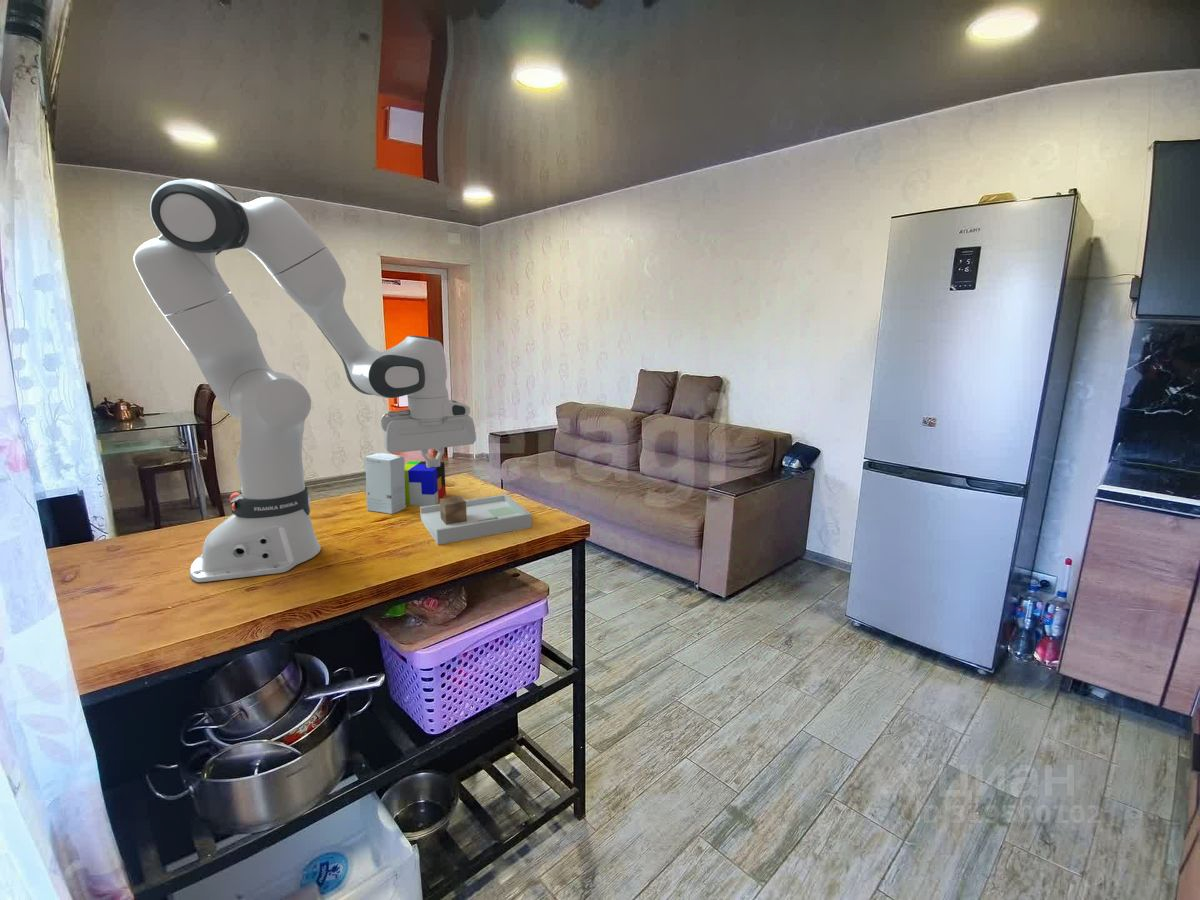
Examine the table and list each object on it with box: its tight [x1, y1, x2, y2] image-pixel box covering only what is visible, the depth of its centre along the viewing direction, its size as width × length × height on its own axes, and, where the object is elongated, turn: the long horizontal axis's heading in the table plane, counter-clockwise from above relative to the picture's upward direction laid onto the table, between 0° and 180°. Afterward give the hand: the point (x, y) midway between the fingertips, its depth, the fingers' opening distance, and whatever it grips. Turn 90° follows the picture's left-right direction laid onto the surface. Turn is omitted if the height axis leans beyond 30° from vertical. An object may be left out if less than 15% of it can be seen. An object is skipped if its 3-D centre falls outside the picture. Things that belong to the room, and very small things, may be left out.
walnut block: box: [439, 495, 467, 525], centre depth 125 cm, size 5×5×5 cm
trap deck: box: [419, 493, 533, 545], centre depth 129 cm, size 23×18×4 cm
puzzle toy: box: [404, 460, 447, 507], centre depth 145 cm, size 10×10×10 cm
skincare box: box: [364, 452, 406, 515], centre depth 136 cm, size 8×6×15 cm
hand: (433, 466), depth 121 cm, fingers closed
